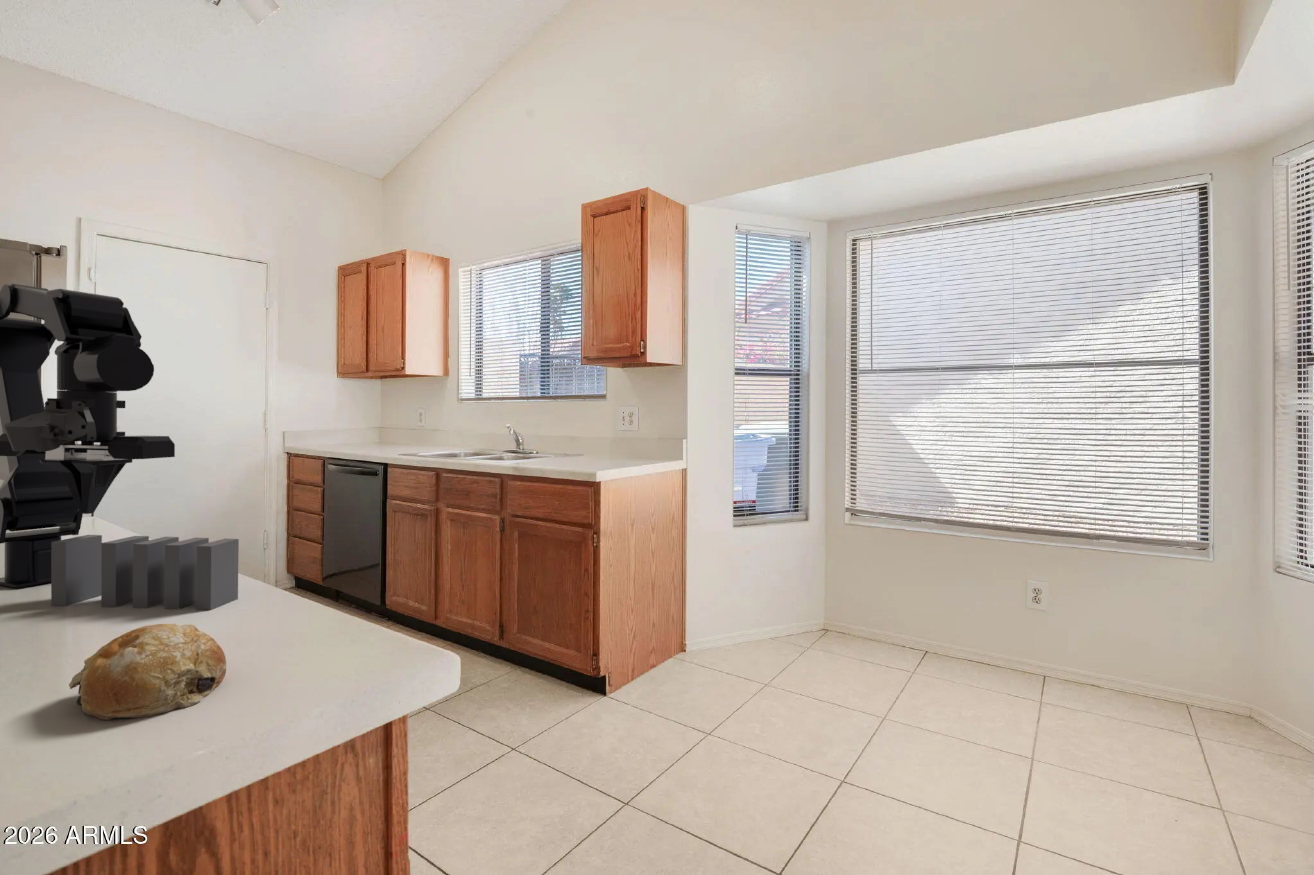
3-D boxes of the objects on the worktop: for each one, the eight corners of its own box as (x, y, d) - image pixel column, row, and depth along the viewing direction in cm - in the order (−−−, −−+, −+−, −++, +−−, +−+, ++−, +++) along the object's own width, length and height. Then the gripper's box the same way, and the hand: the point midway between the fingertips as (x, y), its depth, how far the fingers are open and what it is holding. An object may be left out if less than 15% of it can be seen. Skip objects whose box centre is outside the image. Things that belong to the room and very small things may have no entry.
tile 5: (196, 609, 79) (196, 545, 78) (224, 598, 84) (225, 538, 83) (210, 610, 79) (211, 546, 78) (237, 599, 84) (238, 538, 83)
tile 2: (101, 606, 79) (101, 543, 79) (135, 595, 84) (135, 535, 84) (115, 607, 79) (115, 543, 79) (148, 596, 84) (148, 536, 84)
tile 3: (132, 607, 79) (133, 544, 78) (164, 596, 84) (165, 536, 83) (147, 608, 79) (147, 544, 78) (178, 597, 84) (178, 537, 83)
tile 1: (51, 605, 79) (51, 542, 78) (88, 594, 84) (88, 534, 83) (65, 606, 79) (65, 542, 78) (101, 595, 84) (101, 535, 83)
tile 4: (164, 608, 79) (165, 544, 78) (194, 597, 84) (195, 537, 83) (178, 609, 79) (179, 545, 78) (208, 598, 84) (208, 538, 83)
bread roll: (138, 771, 50) (182, 682, 50) (23, 711, 50) (66, 622, 50) (226, 713, 60) (263, 638, 60) (130, 663, 60) (166, 588, 60)
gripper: (-57, 386, 73) (-56, 521, 73) (102, 389, 72) (102, 525, 73) (40, 391, 84) (40, 508, 84) (178, 394, 83) (177, 512, 84)
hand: (87, 513), depth 81 cm, fingers closed
